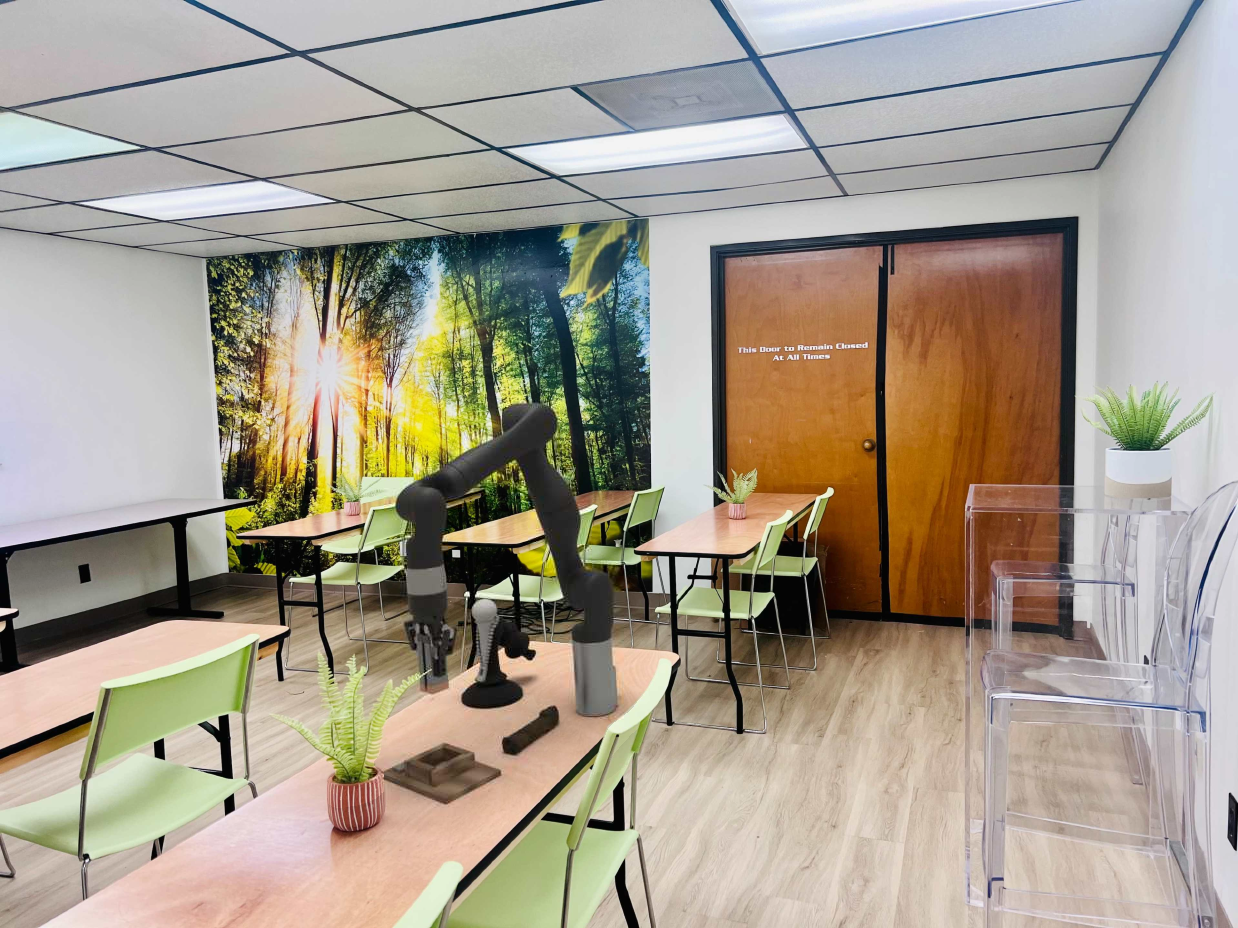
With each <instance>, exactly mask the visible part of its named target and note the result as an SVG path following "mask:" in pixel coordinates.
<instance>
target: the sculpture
mask: <svg viewBox="0 0 1238 928" xmlns="http://www.w3.org/2000/svg"><path fill="white" fill-rule="evenodd" d="M471 607H472V608H471V615H472V617H473V618H474V623H475V624H476V625H477V626H476V630H475V632H476V634H475V636H476V638H475V640H476V642H475V644H476V648H477V649H476V651H477V655H478V656H477V657H478V659H479V660H478V661H479V666H478V672H477V674H476V676H475V678H474V681H475V682H473V683H472V684H470V685H469V686H468V687H467V688H466V689H465V690H464V691H463V692H462V694H461V695H460V696H461V697H460V698H461V703H462V704H463V705H464V706H466V707H468V708H473V709H482V710H483V709H485V710H486V709H487V710H488V709H499V708H503V707H506V706H510V705H512V704H515V703H517V702H519V701H520V700H522V698H523V696H524V689H523V687H521V686H520V684H518V683H516V682H515V681H513V680H511V679H508V674H507V673H505V672H503V670H502V669H501V665H500V657H499V647H502V648H504V654H505V656H506V658H508V659H511V660H514V659H515V660H516V659H519V658H520V657H523V658H525V659H526V660H527V661H528V662H530V661H533V660H534V658H535V657H536V655H537V651H536V650H535V649H530V648H529V647H530V643H531V640H530V636H529V634H528V633H527V632H525V631H519V630H518V627H517V625H516V624H515V622H512V621H510V622H509V621H507V620H505V619H504V617H502V616H501V615H499V614H497V612H498V608H497V607H498V606H497V605H496V603H495V602H494V601H493V600H491V599H489V598H488V599H487V598H483V599H479V600H477V601H476V602H475V603H474V604H473V606H471Z"/></svg>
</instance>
